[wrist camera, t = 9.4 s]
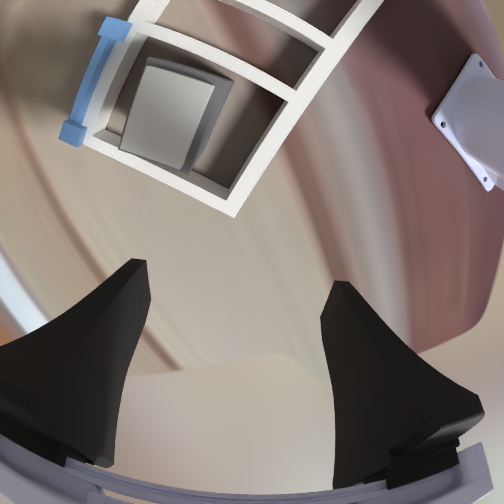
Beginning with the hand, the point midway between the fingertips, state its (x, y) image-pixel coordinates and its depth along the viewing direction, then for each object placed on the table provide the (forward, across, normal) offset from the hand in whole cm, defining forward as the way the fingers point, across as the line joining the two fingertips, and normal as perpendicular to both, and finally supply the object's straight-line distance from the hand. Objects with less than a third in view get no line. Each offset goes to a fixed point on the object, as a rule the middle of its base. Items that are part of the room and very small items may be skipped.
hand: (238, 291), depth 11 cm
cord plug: (+10, +4, -5) cm, 13 cm away
